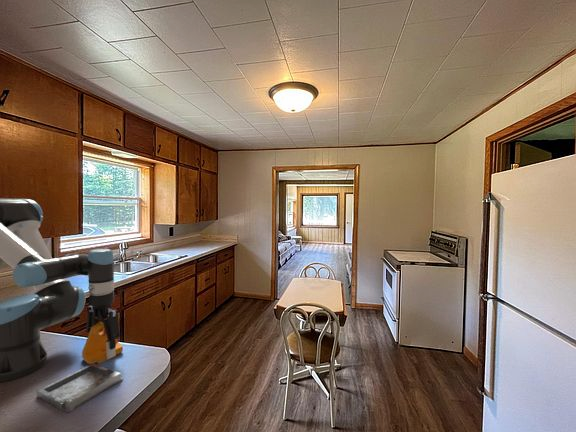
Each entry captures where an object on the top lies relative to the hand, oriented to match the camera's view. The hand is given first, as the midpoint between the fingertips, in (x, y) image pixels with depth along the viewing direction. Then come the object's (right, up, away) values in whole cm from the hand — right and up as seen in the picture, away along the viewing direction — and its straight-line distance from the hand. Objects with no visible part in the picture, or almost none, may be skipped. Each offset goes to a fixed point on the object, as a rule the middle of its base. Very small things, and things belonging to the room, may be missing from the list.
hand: (103, 354), depth 99 cm
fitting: (+5, -1, -17) cm, 18 cm away
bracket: (0, -1, 0) cm, 1 cm away
